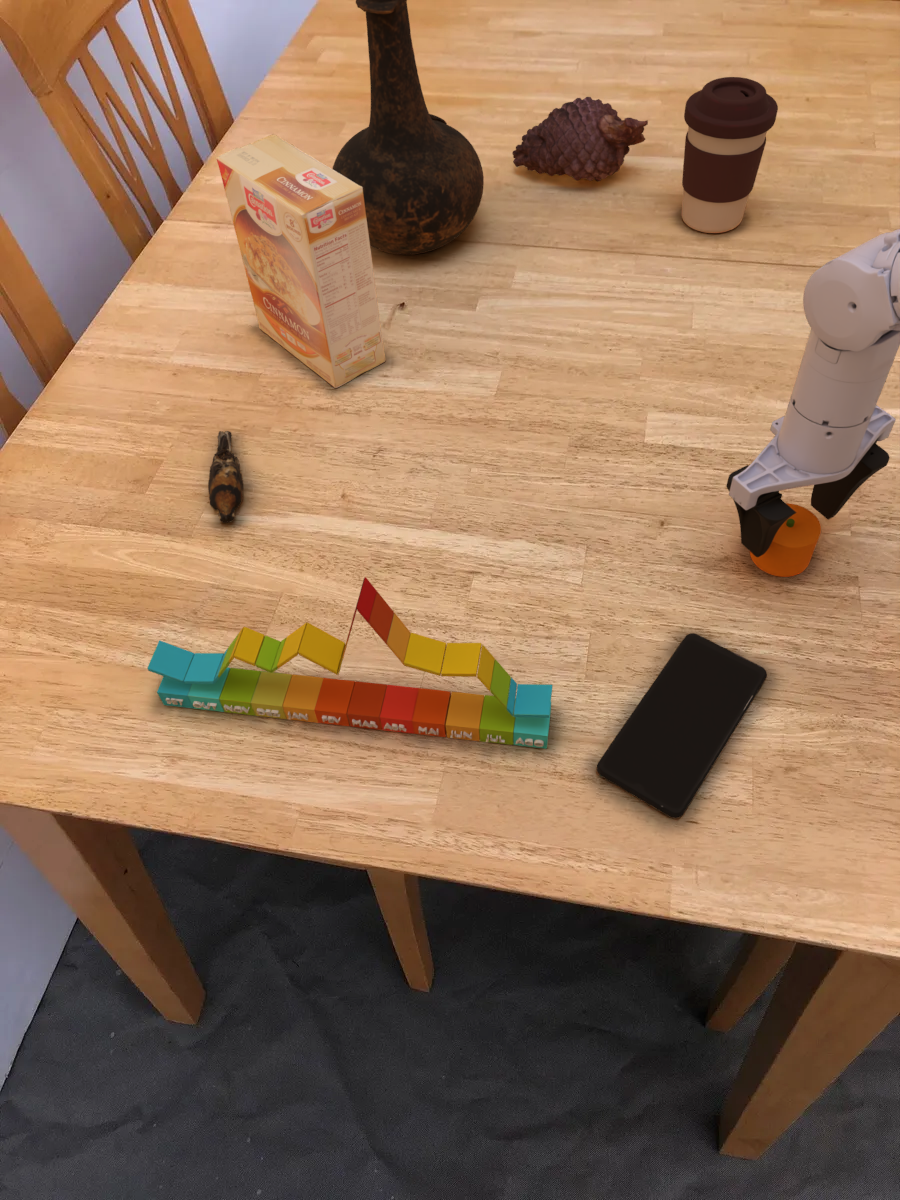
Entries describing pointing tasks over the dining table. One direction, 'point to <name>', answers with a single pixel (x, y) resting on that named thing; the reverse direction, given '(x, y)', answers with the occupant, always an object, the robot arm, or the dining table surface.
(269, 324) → the coffeecake box
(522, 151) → the pine cone
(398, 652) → the chart
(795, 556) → the mandarin
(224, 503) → the bird model
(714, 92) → the coffee cup
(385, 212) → the dark brown vase
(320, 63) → the dining table surface
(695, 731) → the smartphone
